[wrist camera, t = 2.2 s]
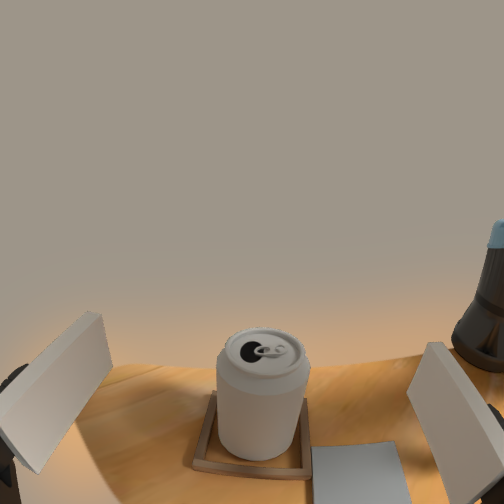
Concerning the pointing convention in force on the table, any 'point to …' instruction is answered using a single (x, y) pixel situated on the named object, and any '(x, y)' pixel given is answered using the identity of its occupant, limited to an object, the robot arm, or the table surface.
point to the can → (260, 392)
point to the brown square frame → (252, 471)
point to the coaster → (358, 475)
